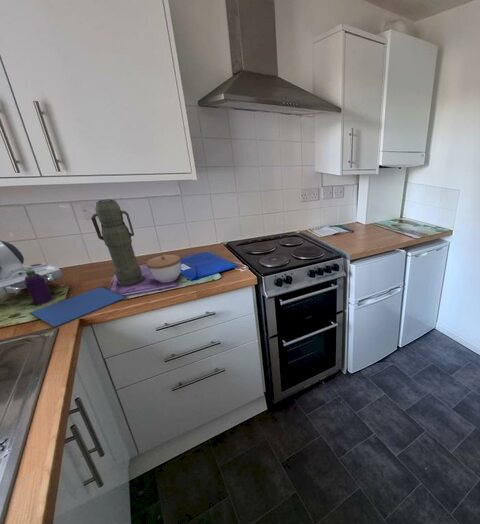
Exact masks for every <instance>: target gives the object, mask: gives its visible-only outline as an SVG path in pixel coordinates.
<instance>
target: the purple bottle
mask: <svg viewBox="0 0 480 524" xmlns="http://www.w3.org/2000/svg"><path fill="white" fill-rule="evenodd" d="M26 274H27V276H26V277H25V281H24V283H25V286H26V290H27V292H28V294H29V296H30V298H31V300H32V302H33V304H34V305H42V304H44V305H45V304H47V303H49V302H51V301H53V299H54V298H53V296H52V293H51V291H50V289H49V286H48V284H47V282H45V280H44V278H43V277H41V276H40V275H39V274H36V273H35V271H34V270H30V271H27V272H26Z"/></svg>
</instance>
